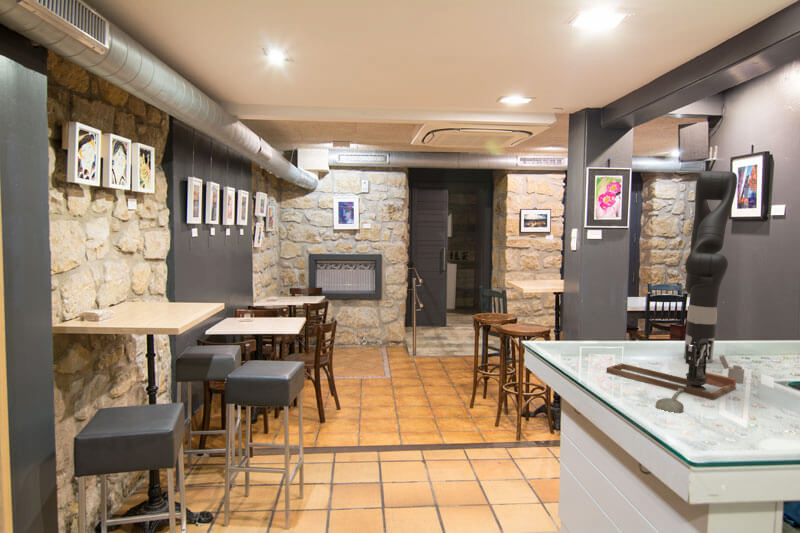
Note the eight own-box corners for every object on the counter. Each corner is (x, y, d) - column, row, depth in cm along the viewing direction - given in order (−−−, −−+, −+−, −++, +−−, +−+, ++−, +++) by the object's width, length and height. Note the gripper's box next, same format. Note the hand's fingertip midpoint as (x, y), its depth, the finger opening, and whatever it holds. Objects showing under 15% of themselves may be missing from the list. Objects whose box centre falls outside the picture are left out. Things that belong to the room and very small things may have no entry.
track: (632, 364, 180) (632, 355, 180) (735, 388, 155) (736, 379, 155) (606, 372, 168) (607, 363, 168) (713, 400, 144) (714, 389, 144)
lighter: (743, 382, 162) (745, 357, 162) (743, 383, 161) (745, 359, 160) (717, 378, 166) (719, 354, 166) (716, 379, 165) (718, 355, 164)
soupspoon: (652, 412, 135) (679, 420, 131) (653, 400, 135) (681, 408, 131) (668, 390, 152) (693, 396, 149) (670, 379, 152) (695, 385, 148)
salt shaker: (710, 391, 149) (713, 351, 148) (688, 389, 150) (691, 349, 149) (702, 385, 154) (706, 346, 153) (681, 383, 155) (684, 345, 154)
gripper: (697, 316, 158) (693, 369, 159) (677, 320, 149) (673, 377, 150) (724, 320, 152) (719, 375, 153) (706, 325, 143) (701, 383, 144)
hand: (696, 375), depth 152 cm, fingers closed on salt shaker, 6 cm apart
